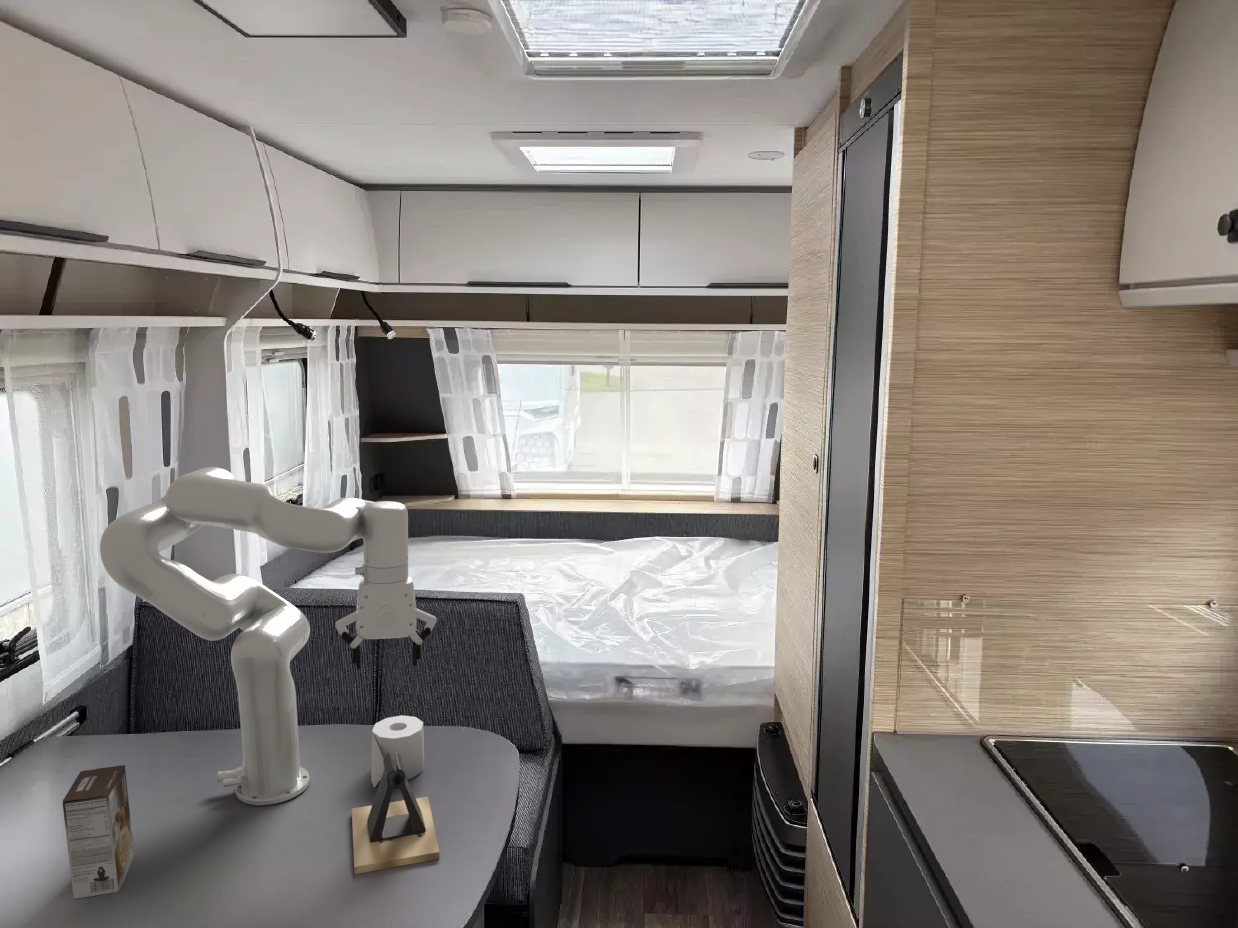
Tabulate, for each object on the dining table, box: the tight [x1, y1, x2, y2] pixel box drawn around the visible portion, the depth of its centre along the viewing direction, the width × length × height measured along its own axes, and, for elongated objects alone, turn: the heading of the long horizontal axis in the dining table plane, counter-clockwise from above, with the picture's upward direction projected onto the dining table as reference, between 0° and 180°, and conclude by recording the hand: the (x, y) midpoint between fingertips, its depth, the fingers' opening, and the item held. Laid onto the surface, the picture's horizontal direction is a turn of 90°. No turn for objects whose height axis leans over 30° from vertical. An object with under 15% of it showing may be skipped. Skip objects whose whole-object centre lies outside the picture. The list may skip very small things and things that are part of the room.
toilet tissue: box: [370, 714, 425, 789], centre depth 164 cm, size 9×13×9 cm
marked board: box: [351, 796, 441, 875], centre depth 145 cm, size 13×17×1 cm
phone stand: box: [367, 752, 426, 843], centre depth 144 cm, size 9×6×12 cm, turn 110°
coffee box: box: [61, 764, 135, 900], centre depth 132 cm, size 9×6×16 cm
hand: (387, 664), depth 155 cm, fingers open, 9 cm apart
